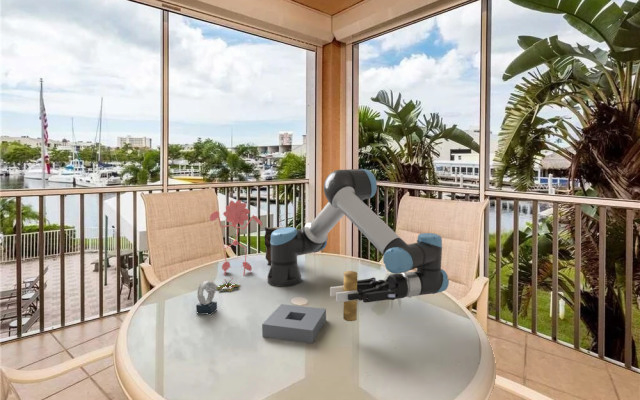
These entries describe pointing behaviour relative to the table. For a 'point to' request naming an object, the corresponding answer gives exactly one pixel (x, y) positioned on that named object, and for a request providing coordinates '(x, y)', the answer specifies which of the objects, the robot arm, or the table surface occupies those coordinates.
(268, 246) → the owl
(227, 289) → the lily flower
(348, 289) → the ochre pin
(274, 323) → the hole block
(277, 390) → the table surface
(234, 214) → the figurine
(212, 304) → the watch
